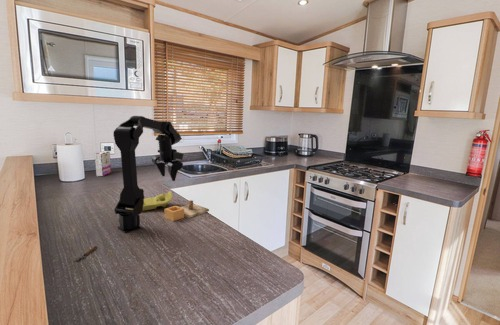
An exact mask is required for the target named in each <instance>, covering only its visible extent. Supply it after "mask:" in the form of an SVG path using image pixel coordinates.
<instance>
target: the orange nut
mask: <svg viewBox="0 0 500 325" xmlns="http://www.w3.org/2000/svg"><path fill="white" fill-rule="evenodd" d="M181 207H182V206H178V205H173V206H170V207H167V208H164V218H165V219H167V220H169V221H171V222H174V221H178V220H181V219H184V218H185V216H184V208H181Z"/></svg>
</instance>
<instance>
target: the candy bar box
mask: <svg viewBox="0 0 500 325" xmlns="http://www.w3.org/2000/svg"><path fill="white" fill-rule="evenodd" d="M94 162H95V173H96V174H95V175H96V177H98V176H103V177H105V175H106V176H107V174H108V175H111V174H112V167H111V166H112V165H111V153H110V151H109V150H108V151H107V150H103V151H99V152H95V153H94ZM110 173H111V174H110Z"/></svg>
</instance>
